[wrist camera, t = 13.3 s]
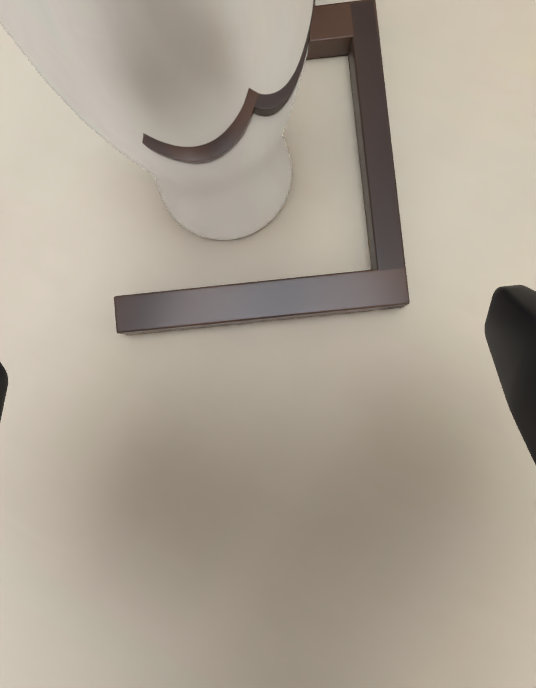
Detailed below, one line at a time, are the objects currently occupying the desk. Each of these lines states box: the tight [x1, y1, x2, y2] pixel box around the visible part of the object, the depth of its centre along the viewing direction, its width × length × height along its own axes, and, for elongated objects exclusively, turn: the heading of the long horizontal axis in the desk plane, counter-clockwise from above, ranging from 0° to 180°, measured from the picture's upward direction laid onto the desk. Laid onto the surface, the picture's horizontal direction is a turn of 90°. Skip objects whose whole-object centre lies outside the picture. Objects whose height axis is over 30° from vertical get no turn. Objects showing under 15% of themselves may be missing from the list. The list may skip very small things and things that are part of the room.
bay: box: [114, 0, 409, 335], centre depth 21 cm, size 12×13×1 cm
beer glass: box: [0, 0, 315, 240], centre depth 14 cm, size 7×7×15 cm
